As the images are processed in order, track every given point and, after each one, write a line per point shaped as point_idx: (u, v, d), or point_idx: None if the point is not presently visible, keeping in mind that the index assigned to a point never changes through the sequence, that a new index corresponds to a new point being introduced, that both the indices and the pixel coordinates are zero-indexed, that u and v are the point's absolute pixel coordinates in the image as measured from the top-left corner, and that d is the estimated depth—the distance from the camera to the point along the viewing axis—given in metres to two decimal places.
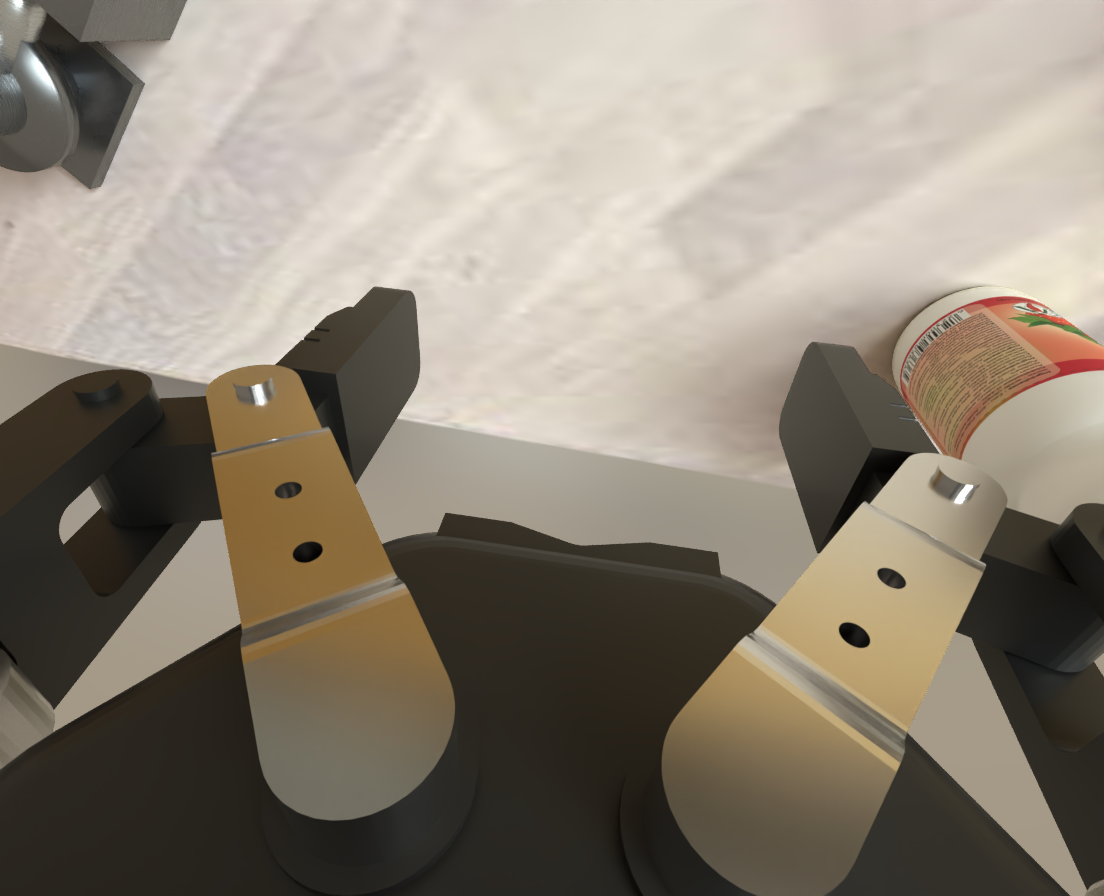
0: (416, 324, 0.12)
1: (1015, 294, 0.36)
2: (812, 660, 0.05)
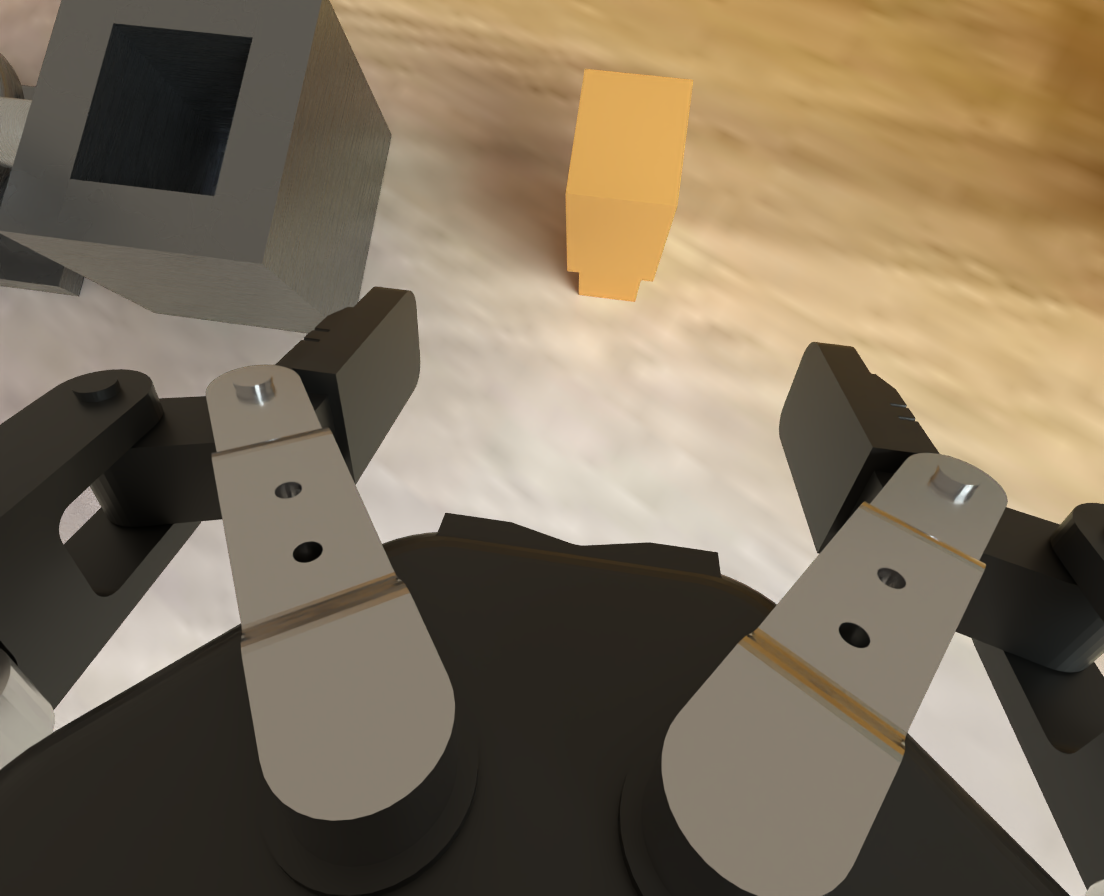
0: (416, 324, 0.12)
1: None
2: (812, 660, 0.05)
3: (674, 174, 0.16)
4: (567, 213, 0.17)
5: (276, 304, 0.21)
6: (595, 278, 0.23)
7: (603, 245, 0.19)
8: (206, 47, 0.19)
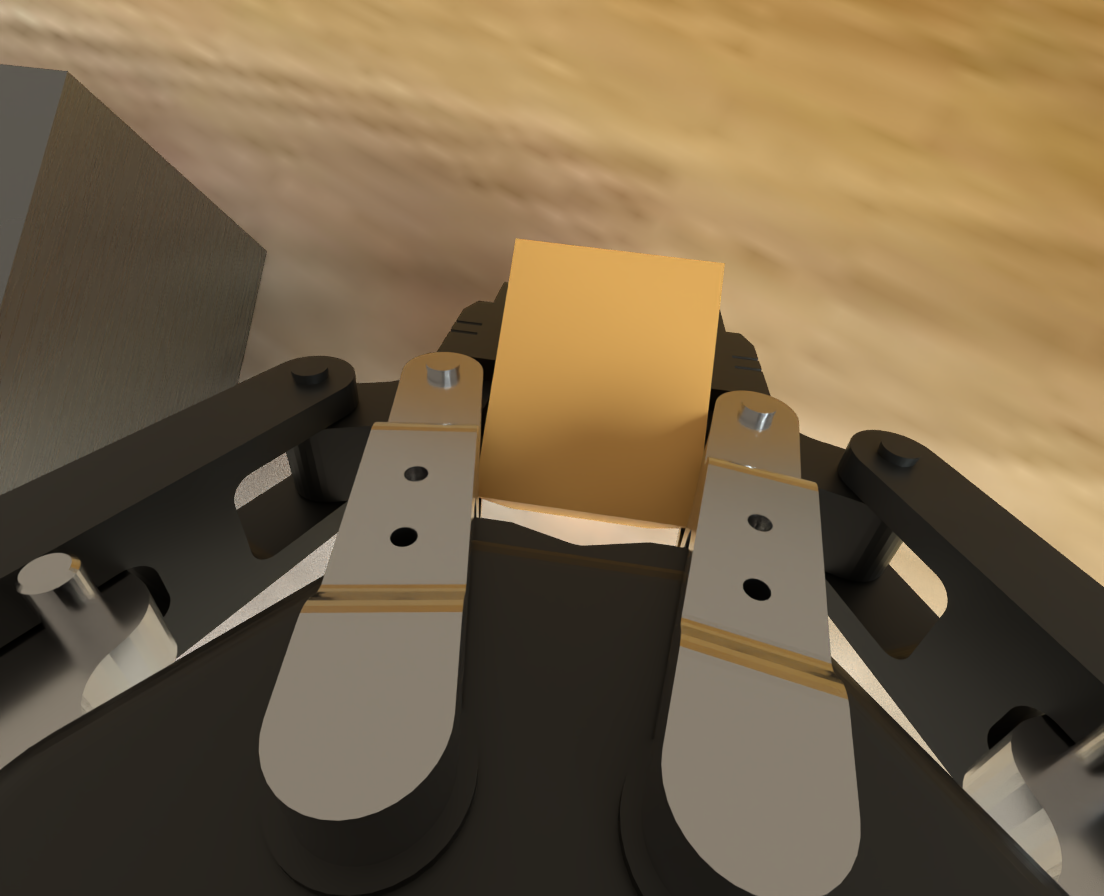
0: None
1: None
2: (737, 629, 0.05)
3: (688, 459, 0.08)
4: (487, 499, 0.09)
5: None
6: None
7: (561, 513, 0.11)
8: None
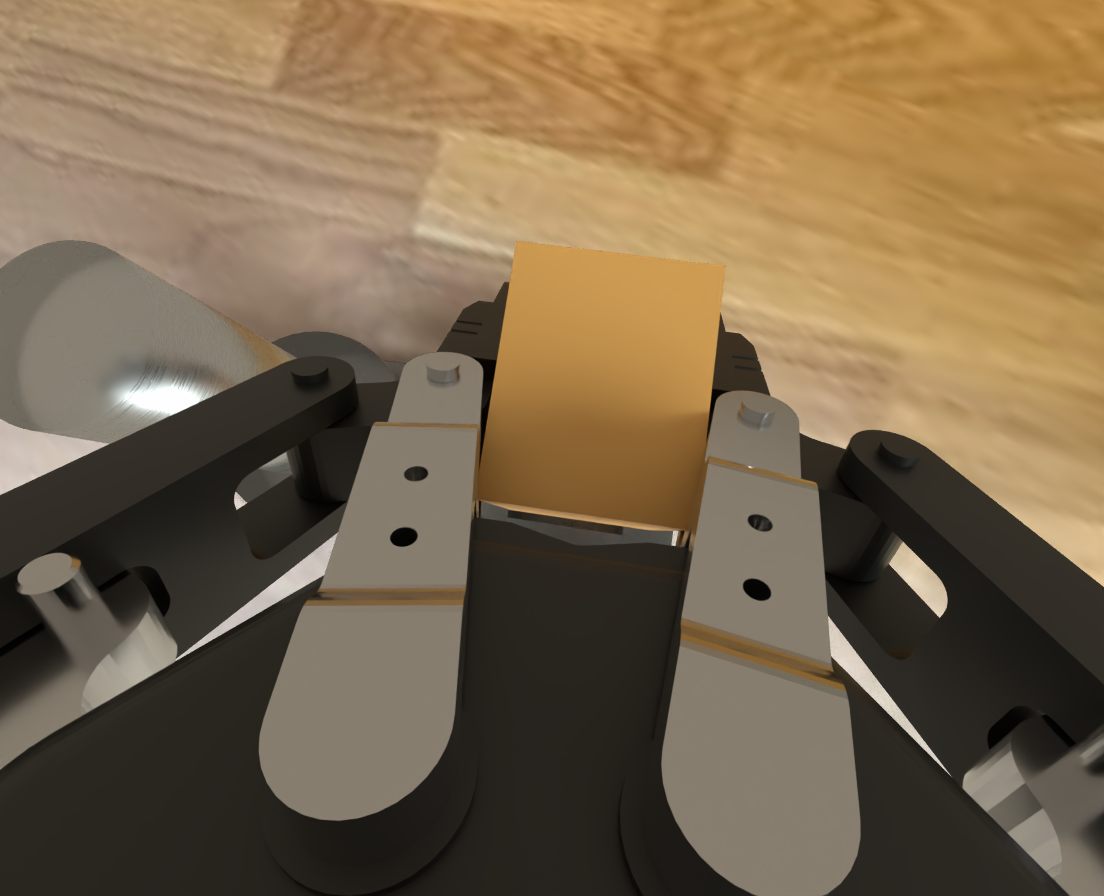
0: None
1: None
2: (737, 629, 0.05)
3: (689, 462, 0.08)
4: (487, 502, 0.09)
5: None
6: None
7: (562, 515, 0.11)
8: None
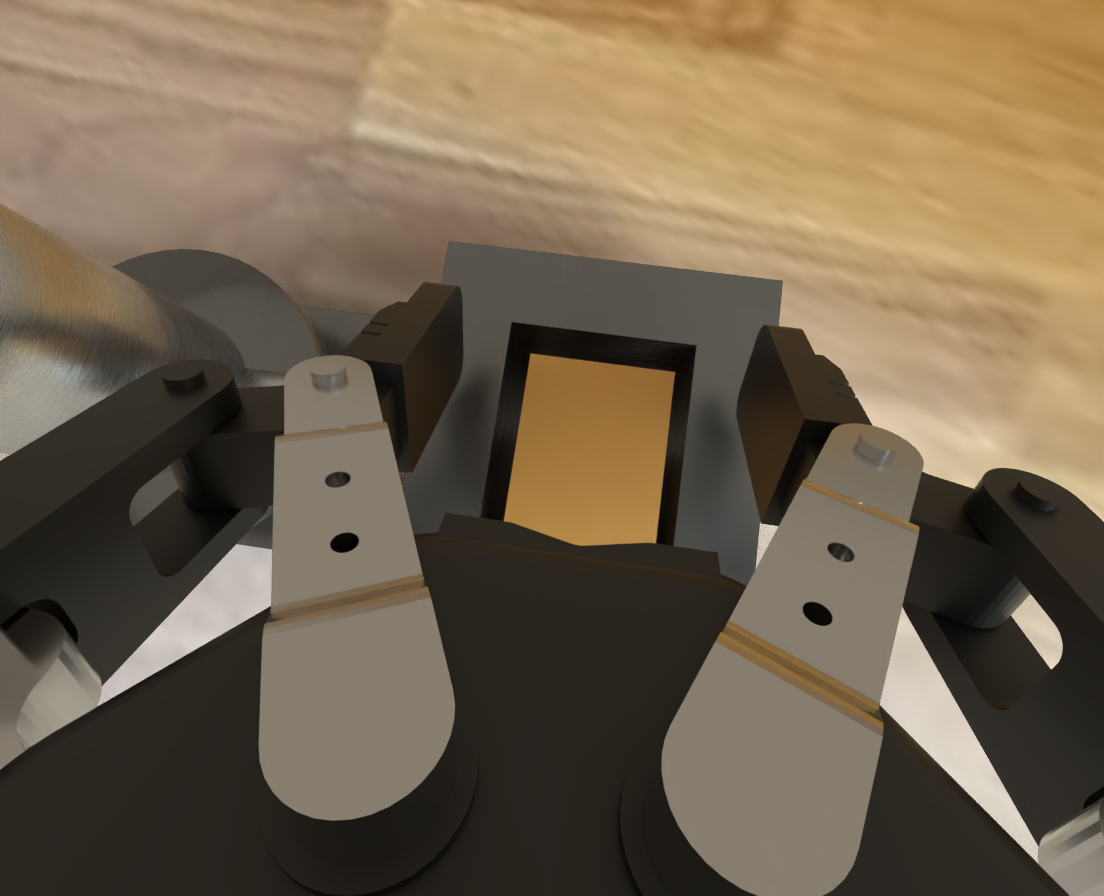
0: (462, 318, 0.12)
1: None
2: (783, 645, 0.05)
3: (650, 508, 0.12)
4: None
5: None
6: None
7: None
8: (616, 343, 0.15)
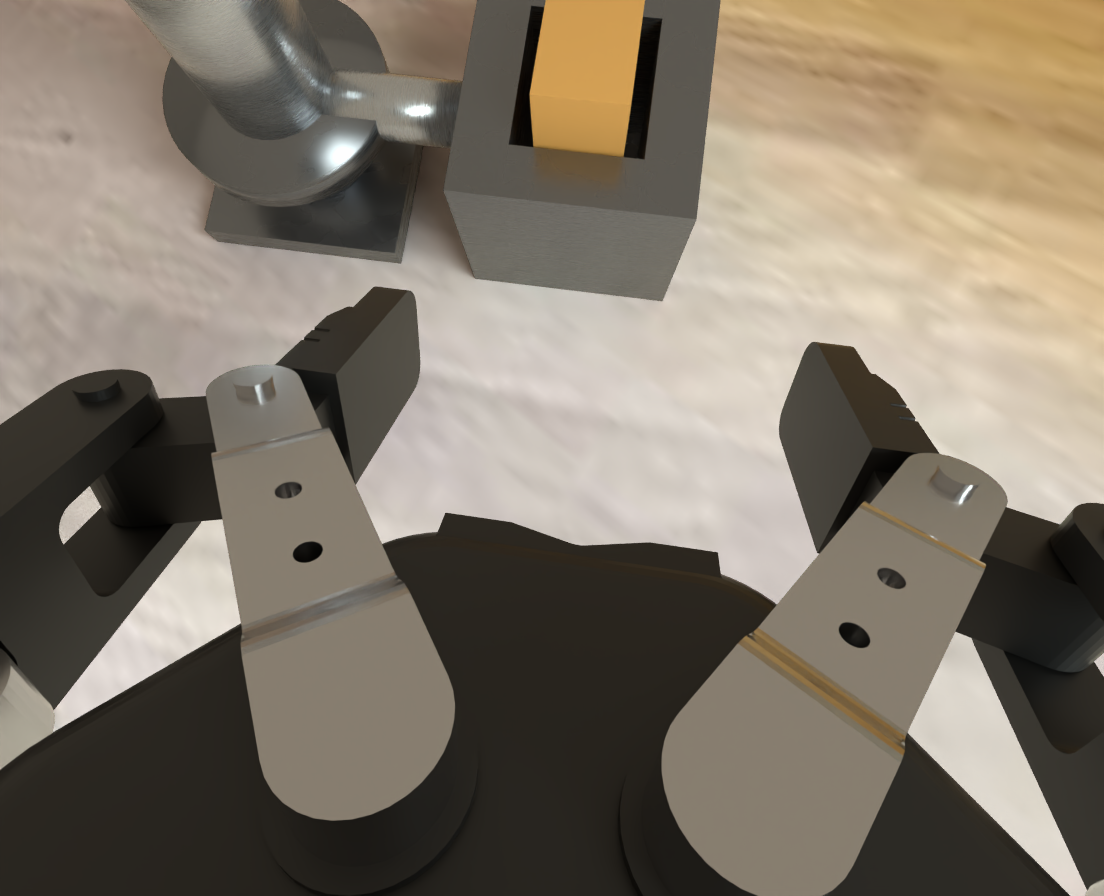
0: (416, 324, 0.12)
1: None
2: (813, 660, 0.05)
3: (628, 78, 0.18)
4: (532, 119, 0.19)
5: (638, 264, 0.23)
6: None
7: None
8: None
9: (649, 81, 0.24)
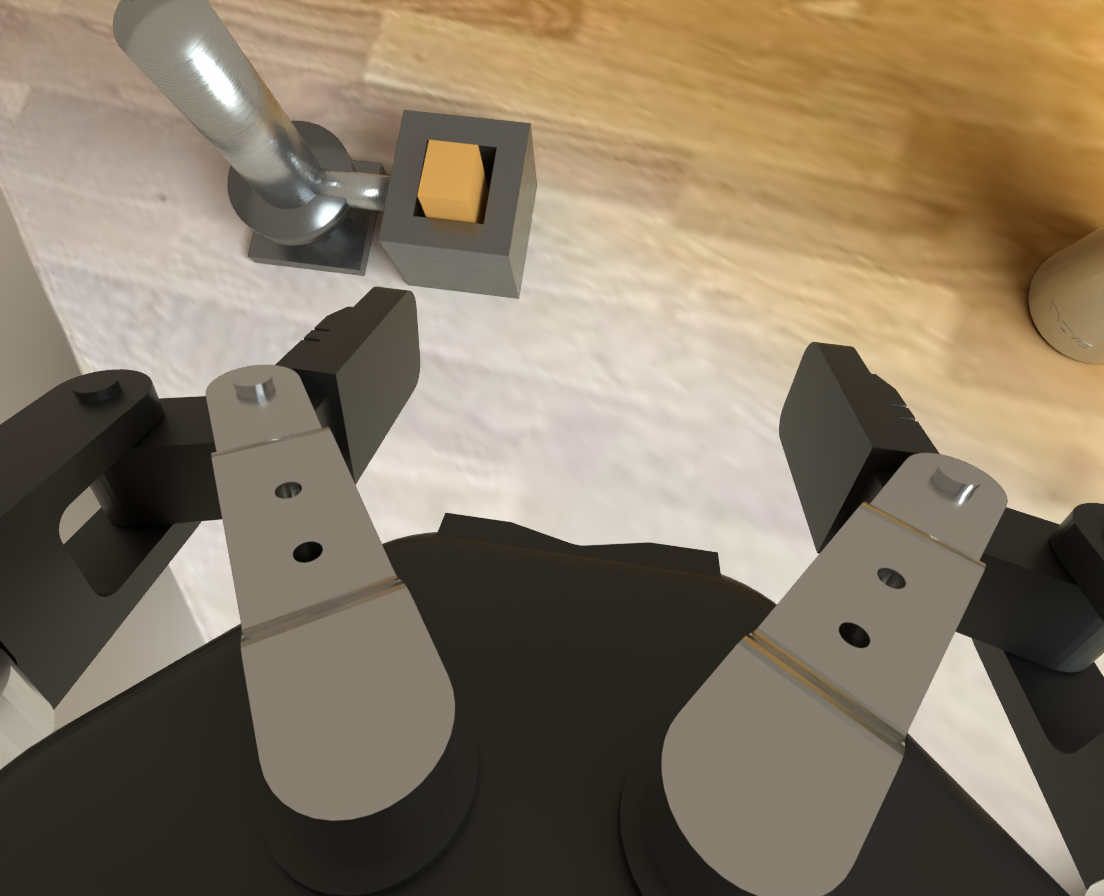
0: (416, 324, 0.12)
1: None
2: (812, 660, 0.05)
3: (466, 187, 0.36)
4: (422, 205, 0.37)
5: (493, 277, 0.41)
6: None
7: None
8: None
9: None
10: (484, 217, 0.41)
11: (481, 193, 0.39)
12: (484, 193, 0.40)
